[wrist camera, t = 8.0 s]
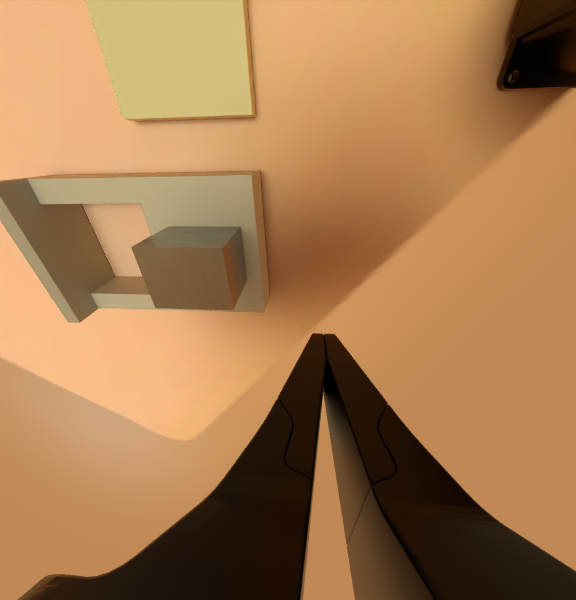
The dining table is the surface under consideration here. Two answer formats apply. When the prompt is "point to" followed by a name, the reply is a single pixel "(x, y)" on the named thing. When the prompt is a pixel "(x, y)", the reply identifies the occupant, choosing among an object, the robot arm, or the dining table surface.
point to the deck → (158, 213)
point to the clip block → (193, 267)
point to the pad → (177, 57)
